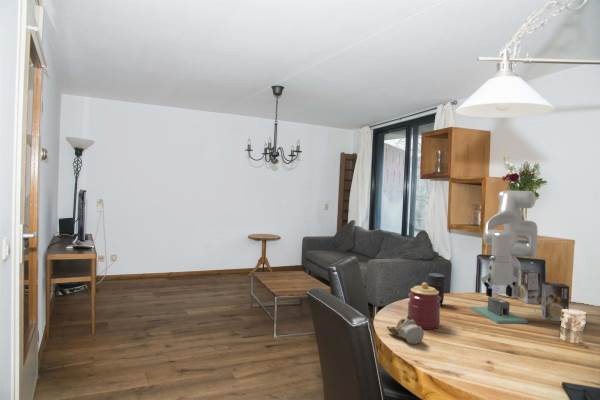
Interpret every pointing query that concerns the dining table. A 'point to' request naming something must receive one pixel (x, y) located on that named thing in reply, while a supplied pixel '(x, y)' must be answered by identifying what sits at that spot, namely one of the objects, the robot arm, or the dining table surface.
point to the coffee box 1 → (529, 286)
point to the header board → (499, 319)
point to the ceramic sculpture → (408, 330)
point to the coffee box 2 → (554, 300)
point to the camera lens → (437, 284)
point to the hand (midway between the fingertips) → (498, 296)
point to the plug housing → (498, 306)
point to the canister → (424, 306)
